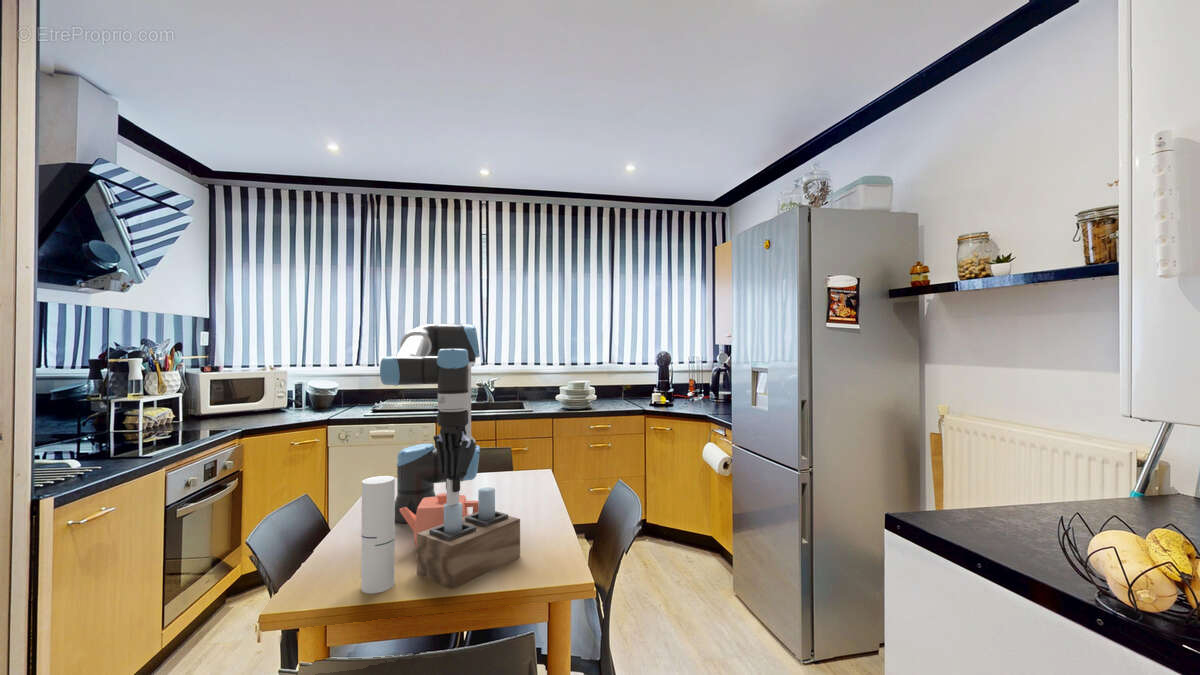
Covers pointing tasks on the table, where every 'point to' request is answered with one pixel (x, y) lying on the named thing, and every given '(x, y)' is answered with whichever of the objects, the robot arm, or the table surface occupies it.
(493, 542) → the wooden peg block
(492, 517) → the peg rear
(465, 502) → the teapot
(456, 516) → the peg front
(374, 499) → the cylindrical container
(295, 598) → the table surface
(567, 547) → the table surface
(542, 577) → the table surface
